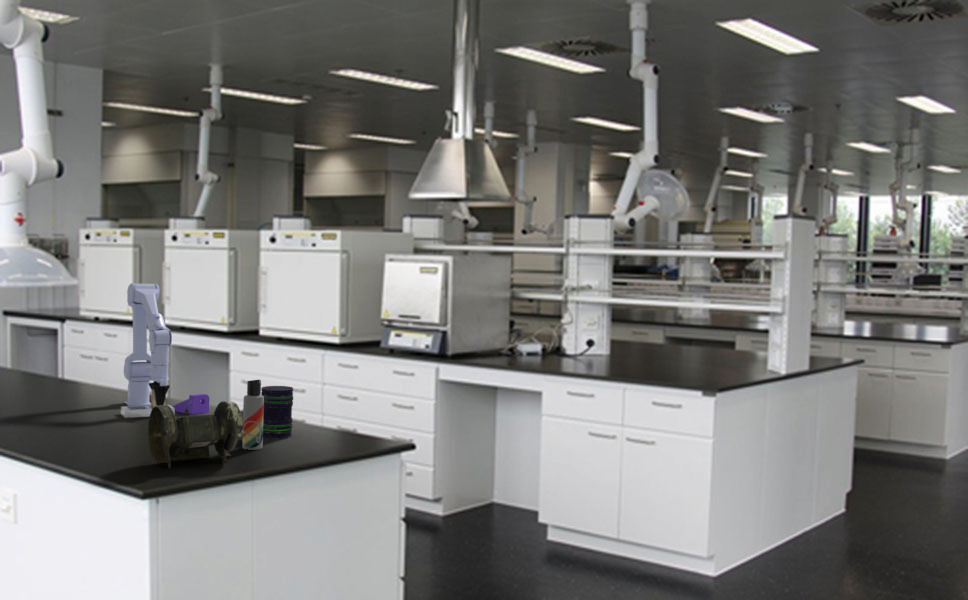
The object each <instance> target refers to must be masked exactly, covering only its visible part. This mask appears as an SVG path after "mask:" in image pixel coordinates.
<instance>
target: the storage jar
mask: <svg viewBox="0 0 968 600" xmlns="http://www.w3.org/2000/svg"><path fill="white" fill-rule="evenodd" d="M293 391H294V387H292V386H285V385H267V386H261V395H262V396H264V412H263V437H264V438H263V439H268V438H272V439H274V440H281V438H284V439H288V437H289V438H291V437H293V434H292V432H293V417H292V416H293V415H292V413H293V405H294V392H293ZM272 439H271V440H272Z"/></svg>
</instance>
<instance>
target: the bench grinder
mask: <svg viewBox="0 0 968 600" xmlns="http://www.w3.org/2000/svg"><path fill="white" fill-rule="evenodd" d="M191 402H192V401H190V402H189V404H188V405H187V407H186V410H185V412H186V413H185V416H179V417H176V416H175V415H174V413H173V411H172V409H171V408H170V407H169V406H168V405H169V404H166V405H164V406H156V407H154V408H153V409H152V411H151V413H150V417H148V422H147V423H148V425H147V439H148V440H147V441H148V446H149V450H150V453H151V454H150V455H151V456H152V458H153V460H154V462H156V463H157V464H163V463H165V464H167V466H168V469H171V467H172V463H173V461H174V462H182V461H184V460H185V461H194V460H195V459H196V460H203V459H209V458H210V457H211V454H210V446H214V449H215V451H216V452H217V454H218V455H219V456H220V457H221V463H222V464H223V463H225V462H226V461H227V457H231V456H232V455H231V453H229V452H231V451H233V450H234V449H235V448H236V446H237V443H238V440H239V438H241V437H243V434H244V429H243V414H242V412H241V409H240V408H239V405H238V404H237V403H236V402H235V401H232V400H231V401H220V402H219V403H218V404H217V406H216V408H215V409H214V412H213V414H194V415H190V414H189V410H188V407H189V405H190V403H191Z"/></svg>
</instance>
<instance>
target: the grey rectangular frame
mask: <svg viewBox="0 0 968 600" xmlns="http://www.w3.org/2000/svg"><path fill="white" fill-rule="evenodd" d="M167 405H168V406H169V407H170V408H171V409H172V411H173V413H174V416H175V413H176V411H175V408H174V407H172V406H173V405H171V404H167ZM151 411H152V408H151V405H144V406H128V405H126V406H120V415H121V416H122V417H123V418H124V419H129V418H149V417H150V413H151Z"/></svg>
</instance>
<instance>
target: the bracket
mask: <svg viewBox="0 0 968 600" xmlns="http://www.w3.org/2000/svg"><path fill="white" fill-rule="evenodd" d="M188 397H189V398H188V399H185V400H182V401H181V402H179V403H177V404H174V405H171V406H172V407H174V408H175V412H176V413H177V412H178V413H182V414H186V412H185V410H186V407H187V405H188V404H189V402H190V401H192V402H191V403H190V405H189V407H188V410H189V415H191V416H193V415H203V414H207V413H210V395H208V394H206V393H196V394H189V395H188Z"/></svg>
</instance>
